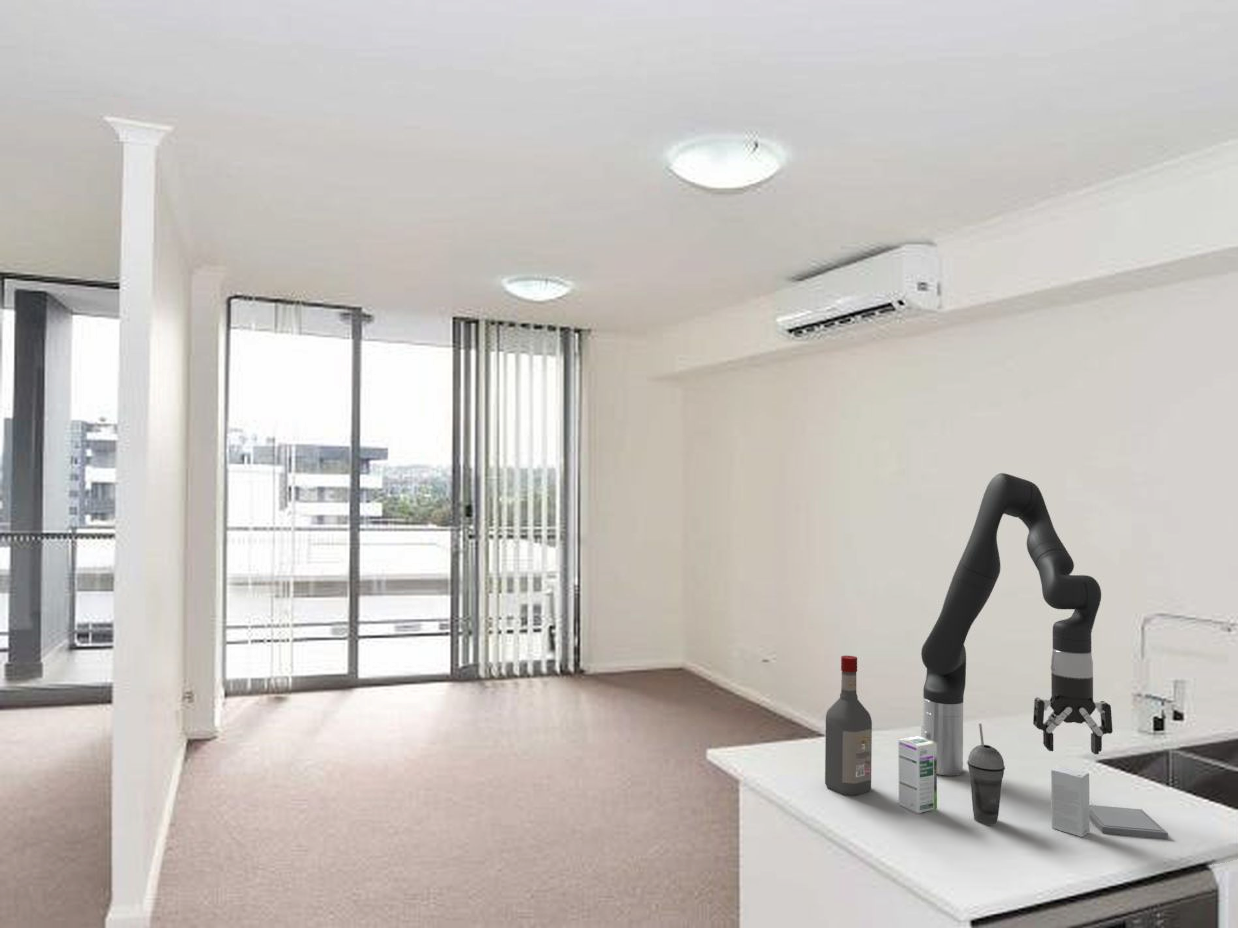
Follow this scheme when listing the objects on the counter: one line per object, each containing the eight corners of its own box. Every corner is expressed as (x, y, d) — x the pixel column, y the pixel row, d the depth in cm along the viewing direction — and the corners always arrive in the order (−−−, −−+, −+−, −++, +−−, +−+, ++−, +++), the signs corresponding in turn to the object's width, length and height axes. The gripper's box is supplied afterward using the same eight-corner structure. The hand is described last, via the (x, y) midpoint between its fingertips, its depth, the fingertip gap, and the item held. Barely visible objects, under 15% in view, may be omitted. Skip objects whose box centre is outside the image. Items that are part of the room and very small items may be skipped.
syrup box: (918, 814, 174) (919, 745, 174) (897, 804, 179) (898, 737, 179) (937, 809, 176) (938, 742, 177) (916, 799, 182) (916, 734, 182)
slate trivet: (1102, 832, 166) (1102, 826, 166) (1080, 809, 178) (1080, 803, 178) (1167, 838, 164) (1167, 832, 164) (1141, 814, 175) (1141, 808, 175)
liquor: (877, 790, 187) (878, 659, 187) (848, 797, 182) (850, 663, 183) (846, 777, 194) (848, 651, 195) (819, 784, 190) (820, 655, 190)
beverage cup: (1002, 830, 166) (1003, 731, 166) (963, 822, 170) (964, 725, 170) (1006, 818, 172) (1007, 723, 173) (969, 810, 176) (970, 717, 177)
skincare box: (1090, 832, 166) (1090, 772, 166) (1082, 837, 163) (1082, 777, 164) (1058, 822, 171) (1058, 764, 171) (1050, 827, 168) (1050, 769, 168)
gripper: (1040, 674, 165) (1040, 755, 165) (1117, 678, 163) (1118, 760, 162) (1029, 666, 173) (1029, 743, 172) (1102, 669, 170) (1102, 748, 170)
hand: (1072, 751), depth 167 cm, fingers open, 8 cm apart
